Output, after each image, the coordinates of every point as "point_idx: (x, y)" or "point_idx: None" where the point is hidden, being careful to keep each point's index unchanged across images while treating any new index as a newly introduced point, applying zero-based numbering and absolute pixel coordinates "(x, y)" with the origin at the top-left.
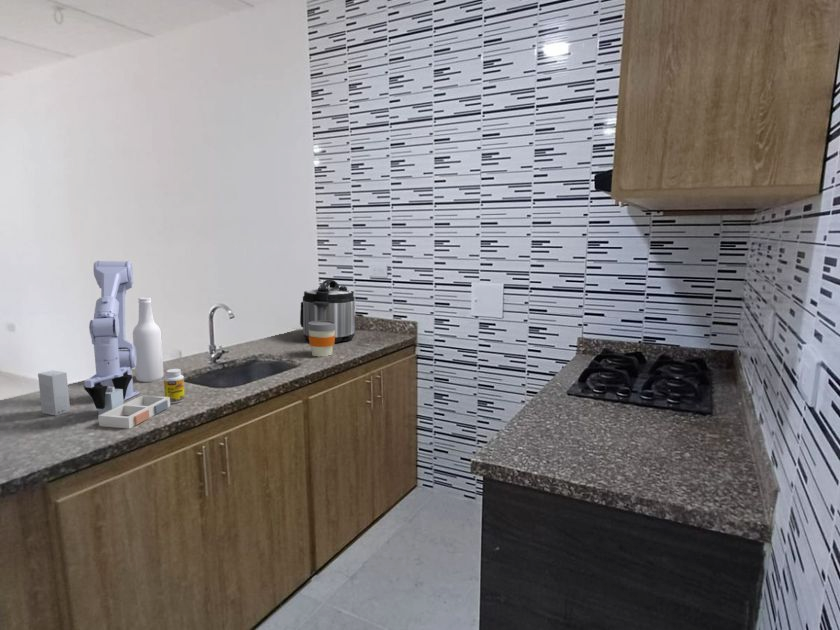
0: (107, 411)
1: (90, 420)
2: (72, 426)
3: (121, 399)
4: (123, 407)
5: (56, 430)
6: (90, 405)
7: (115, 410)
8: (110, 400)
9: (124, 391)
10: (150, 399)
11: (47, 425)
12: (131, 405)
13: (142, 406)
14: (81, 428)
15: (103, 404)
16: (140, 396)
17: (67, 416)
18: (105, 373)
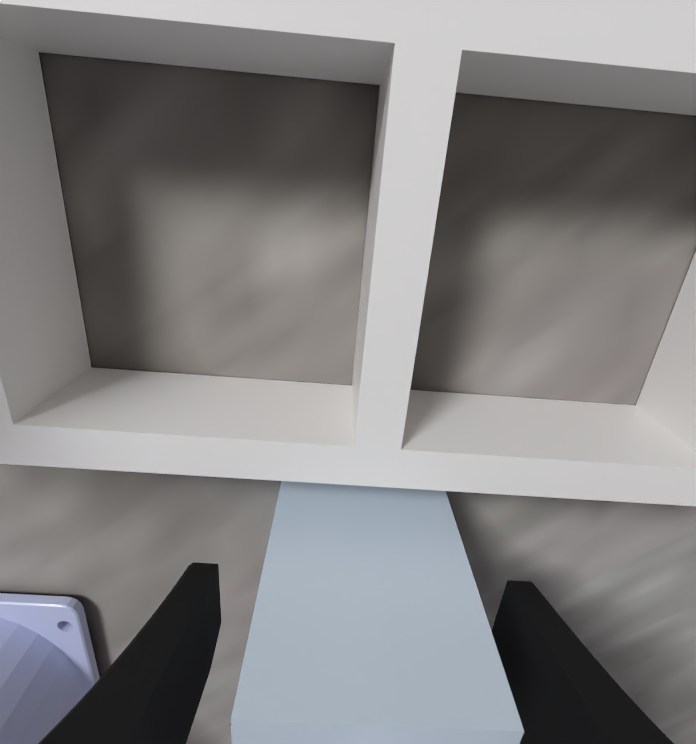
0: (608, 500)
1: (511, 567)
2: (627, 601)
3: (297, 562)
4: (403, 438)
5: (689, 639)
6: (220, 717)
7: (541, 451)
8: (484, 624)
9: (166, 659)
10: (16, 306)
11: None
12: (389, 359)
13: (424, 153)
14: (683, 529)
15: (557, 623)
16: (34, 457)
17: None
18: None
